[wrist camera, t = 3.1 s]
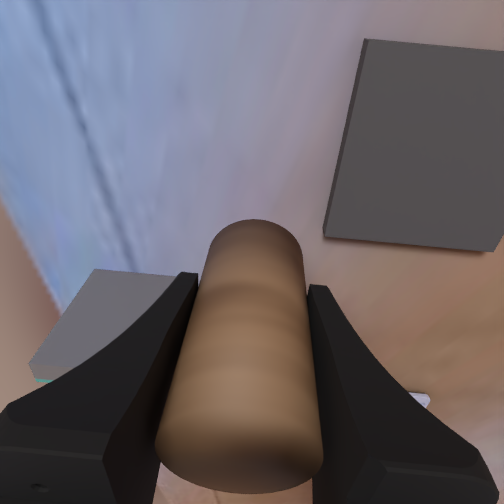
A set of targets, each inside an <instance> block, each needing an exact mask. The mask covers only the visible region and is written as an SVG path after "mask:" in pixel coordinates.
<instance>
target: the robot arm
mask: <svg viewBox="0 0 504 504" xmlns="http://www.w3.org/2000/svg"><path fill="white" fill-rule="evenodd" d="M197 291H198V273H187V272H181V273H179V274H178V275H177V277H176V278H175V279H174V280H173V282H172V283H171V284H170V285H169V286H168V288H167V289H166V290H165V291H164V292H163V293H162V295H161V296H160V297H159V298H158V299H157V300H156V301H155V302H154V303H153V304H152V305H151V306H150V307H149V308H148V309H147V310H146V311H145V312H144V313H143V314H142V315H141V316H140V317H139V318H138V319H137V320H136V321H135V322H134V323H133V324H132V325H131V326H130V327H128V328H127V329H126V330H125V331H124V332H123V333H122V334H120V335H119V336H118V337H117V338H115V339H114V340H113V341H112V342H110V343H109V344H108V345H107V346H105V347H104V348H103V349H101V350H100V351H98V352H97V353H96V354H94V355H93V356H92V357H90V358H89V359H87V360H86V361H84V362H83V363H81V364H80V365H78V366H77V367H75V368H73V369H72V370H70V371H68V372H67V373H65V374H63V375H62V376H60V377H59V378H57V379H55V380H53V381H52V382H50V383H48V384H46V385H44V386H43V387H41V388H39V389H37V390H35V391H33V392H31V393H29V394H27V395H25V396H23V397H21V398H19V399H17V400H15V401H13V402H11V403H9V404H8V405H7V406H6V408H5V409H4V410H3V411H2V412H1V413H0V504H152V503H153V498H154V493H155V488H156V483H157V478H158V473H159V468H160V463H161V461H160V460H159V458H158V456H157V454H156V451H155V439H156V435H157V432H158V428H159V425H160V421H161V417H162V414H163V410H164V407H165V403H166V400H167V396H168V393H169V389H170V386H171V382H172V379H173V375H174V372H175V368H176V365H177V361H178V358H179V354H180V350H181V347H182V343H183V340H184V336H185V333H186V329H187V326H188V322H189V319H190V315H191V312H192V308H193V305H194V301H195V298H196V294H197ZM307 303H308V313H309V322H310V332H311V341H312V351H313V360H314V370H315V379H316V389H317V398H318V408H319V418H320V427H321V437H322V446H323V463H322V466H321V468H320V469H319V471H318V472H317V473H316V474H315V475H314V476H313V477H312V486H313V504H496V503H497V501H498V499H499V491H498V489H497V487H496V484H495V482H494V480H493V478H492V475H491V473H490V471H489V469H488V467H487V465H486V463H485V461H484V460H483V458H482V456H481V454H480V452H479V450H478V449H477V448H475V447H474V446H473V445H471V444H470V443H469V442H468V441H466V440H465V439H464V438H462V437H461V436H460V435H458V434H457V433H456V432H454V431H453V430H452V429H450V428H449V427H448V426H446V425H445V424H444V423H442V422H441V421H440V420H439V419H438V418H436V417H435V416H434V415H433V414H432V413H431V412H429V411H428V410H427V409H426V407H427V405H428V403H429V402H430V398H429V396H428V395H427V394H421V393H410V392H407V391H406V390H405V389H404V388H403V387H402V386H401V385H400V384H399V383H398V382H397V381H396V380H395V379H394V378H393V377H392V376H391V375H390V374H389V373H388V372H387V371H386V369H385V368H384V367H383V366H382V365H381V364H380V363H379V361H378V360H377V359H376V358H375V357H374V355H373V354H372V353H371V352H370V350H369V349H368V348H367V347H366V345H365V344H364V343H363V341H362V340H361V339H360V337H359V336H358V334H357V333H356V332H355V330H354V329H353V327H352V326H351V324H350V323H349V321H348V320H347V318H346V317H345V315H344V313H343V312H342V310H341V309H340V307H339V305H338V304H337V302H336V300H335V298H334V297H333V295H332V293H331V291H330V290H329V288H328V287H327V286H323V285H313V284H310V286H309V290H308V295H307Z"/></svg>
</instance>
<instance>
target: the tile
mask: <svg viewBox="0 0 504 504" xmlns="http://www.w3.org/2000/svg"><path fill="white" fill-rule="evenodd" d="M175 278H176V277H175V276H164V275H154V274H143V273H133V272H122V271H111V270H101V269H94V270H93V272H92V273H91V275H90V276H89V278H88V279H87V280H86V282H85V283H84V285H83V286H82V288H81V289H80V291H79V292H78V293H77V295H76V296H75V298H74V299H73V301H72V302H71V303H70V305H69V306H68V308H67V309H66V311H65V312H64V313H63V315H62V316H61V318H60V319H59V321H58V322H57V324H56V325H55V326H54V328H53V329H52V331H51V332H50V334H49V335H48V336H47V338H46V339H45V341H44V342H43V343H42V345H41V346H40V348H39V349H38V351H37V352H36V353H35V355H34V356H33V358H32V359H31V361H30V362H29V366H30V368H31V370H32V372H33V375H34V377H35V379H36V381H37V382H47V383H50V382H52V381H53V380H55V379H57V378H59V377H60V376H62V375H63V374H65V373H67V372H68V371H70V370H72V369H73V368H75V367H77V366H78V365H80V364H81V363H83V362H84V361H86V360H87V359H89V358H90V357H92V356H93V355H94V354H96V353H97V352H98V351H100V350H101V349H103V348H104V347H105V346H107V345H108V344H109V343H110V342H112V341H113V340H114V339H115V338H117V337H118V336H119V335H120V334H122V333H123V332H124V331H125V330H126V329H127V328H128V327H130V326H131V325H132V324H133V323H134V322H135V321H136V320H137V319H138V318H139V317H140V316H141V315H142V314H143V313H144V312H145V311H146V310H147V309H148V308H149V307H150V306H151V305H152V304H153V303H154V302H155V301H156V300H157V299H158V298H159V297H160V296H161V295H162V293H163V292H164V291H165V290H166V289H167V288H168V286H169V285H170V284H171V283H172V282H173V280H174V279H175Z"/></svg>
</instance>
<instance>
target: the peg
mask: <svg viewBox="0 0 504 504" xmlns="http://www.w3.org/2000/svg"><path fill="white" fill-rule="evenodd" d="M155 451H156V454H157V456H158V458H159V460H160V461H161V462H162V463H163V465H164V466H165V467H167V468H168V469H169V470H170V471H171V472H173V473H174V474H176V475H177V476H179V477H181V478H182V479H184V480H187V481H189V482H191V483H194V484H196V485H199V486H202V487H205V488H209V489H213V490H217V491H223V492H229V493H239V494H263V493H272V492H277V491H282V490H286V489H290V488H293V487H296V486H298V485H300V484H302V483H304V482H306V481H308V480H309V479H311V478H312V477H313V476H314V475H315V474H316V473H317V472H318V471H319V469H320V468H321V466H322V463H323V446H322V437H321V427H320V418H319V408H318V398H317V389H316V379H315V370H314V360H313V351H312V341H311V332H310V322H309V313H308V303H307V293H306V284H305V274H304V265H303V255H302V251H301V248H300V245H299V243H298V242H297V240H296V239H295V237H294V236H293V235H292V234H291V233H290V232H289V231H287V230H286V229H285V228H283V227H281V226H280V225H278V224H275V223H273V222H269V221H266V220H258V219H250V220H243V221H238V222H235V223H233V224H231V225H228V226H227V227H225V228H224V229H222V230H221V231H220V232H219V233H218V234H217V235H216V236H215V238H214V239H213V241H212V243H211V245H210V248H209V252H208V255H207V259H206V262H205V266H204V269H203V273H202V276H201V280H200V283H199V287H198V291H197V294H196V298H195V301H194V305H193V308H192V312H191V315H190V319H189V322H188V326H187V329H186V333H185V336H184V340H183V343H182V347H181V350H180V354H179V358H178V361H177V365H176V368H175V372H174V375H173V379H172V382H171V386H170V389H169V393H168V396H167V400H166V403H165V407H164V410H163V414H162V417H161V421H160V425H159V428H158V432H157V435H156V439H155Z"/></svg>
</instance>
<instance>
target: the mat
mask: <svg viewBox="0 0 504 504" xmlns="http://www.w3.org/2000/svg"><path fill="white" fill-rule="evenodd" d="M323 232H324V236H326V237H336V238H347V239H358V240H368V241H379V242H389V243H400V244H411V245H421V246H432V247H443V248H453V249H464V250H474V251H485V252H494V250H495V249H496V247H497V245H498V243H499V242H500V240H501V238H502V236H503V235H504V51H495V50H484V49H473V48H462V47H451V46H440V45H429V44H418V43H407V42H397V41H386V40H375V39H364V42H363V46H362V51H361V55H360V60H359V64H358V69H357V74H356V78H355V83H354V87H353V92H352V96H351V101H350V105H349V110H348V115H347V119H346V124H345V128H344V133H343V137H342V142H341V147H340V151H339V156H338V160H337V165H336V169H335V174H334V178H333V183H332V188H331V192H330V197H329V201H328V206H327V210H326V215H325V219H324V224H323Z"/></svg>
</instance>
